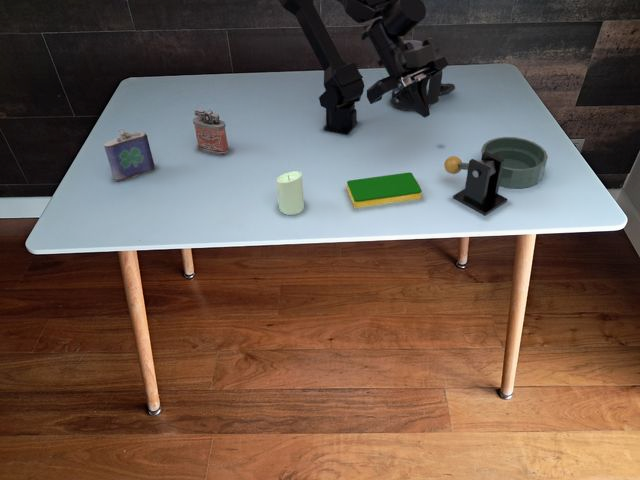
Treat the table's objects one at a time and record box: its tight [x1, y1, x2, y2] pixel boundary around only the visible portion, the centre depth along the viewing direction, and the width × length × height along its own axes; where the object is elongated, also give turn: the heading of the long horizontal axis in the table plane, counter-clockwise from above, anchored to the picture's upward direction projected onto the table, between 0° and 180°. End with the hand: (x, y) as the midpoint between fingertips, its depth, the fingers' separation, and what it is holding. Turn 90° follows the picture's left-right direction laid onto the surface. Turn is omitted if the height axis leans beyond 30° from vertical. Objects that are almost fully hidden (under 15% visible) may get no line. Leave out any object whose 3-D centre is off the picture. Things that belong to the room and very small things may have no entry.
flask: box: [103, 128, 156, 182], centre depth 126 cm, size 9×3×11 cm, turn 121°
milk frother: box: [390, 39, 456, 111], centre depth 148 cm, size 14×16×15 cm
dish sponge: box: [346, 171, 422, 210], centre depth 120 cm, size 7×14×2 cm, turn 101°
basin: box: [478, 136, 548, 189], centre depth 123 cm, size 13×13×5 cm
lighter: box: [192, 108, 230, 157], centre depth 133 cm, size 8×3×10 cm, turn 65°
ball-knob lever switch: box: [452, 151, 509, 217], centre depth 114 cm, size 8×7×10 cm
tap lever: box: [443, 155, 496, 176], centre depth 116 cm, size 11×4×4 cm, turn 40°
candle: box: [276, 171, 305, 216], centre depth 115 cm, size 5×5×8 cm
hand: (427, 116), depth 118 cm, fingers closed
